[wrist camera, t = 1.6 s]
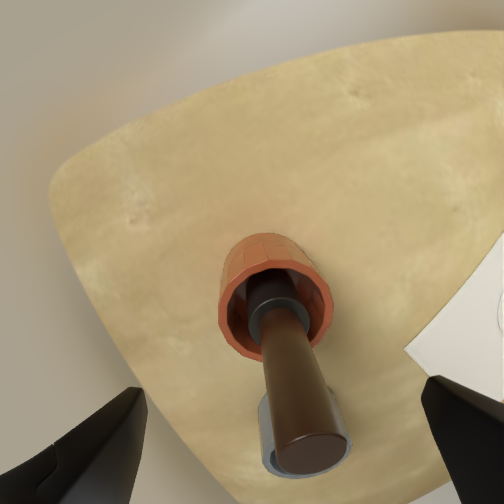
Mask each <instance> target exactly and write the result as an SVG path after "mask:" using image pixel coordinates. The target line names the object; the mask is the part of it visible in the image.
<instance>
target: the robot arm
mask: <svg viewBox="0 0 504 504" xmlns="http://www.w3.org/2000/svg"><path fill="white" fill-rule="evenodd" d="M421 402H422V405H423V408H424V411H425V414H426V417H427V420H428V423H429V426H430V429H431V432H432V435H433V437H434V440H435V442H436V444H437V446H438V449H439V451H440V453H441V455H442V458H443V460H444V462H445V465H446V467H447V469H448V472H449V474H450V476H451V479H452V481H453V484H454V486H455V489H456V491H457V494H458V496H459V499H460V501H461V504H504V404H503V403H501V402H499V401H496V400H494V399H492V398H490V397H488V396H485V395H483V394H481V393H479V392H476V391H474V390H472V389H470V388H468V387H465V386H463V385H461V384H459V383H457V382H454V381H452V380H450V379H448V378H446V377H444V376H441V375H435V376H431V377H429V378H428V379H427V382H426V384H425V387H424V390H423V392H422V395H421ZM147 414H148V409H147V404H146V399H145V394H144V390H143V389H142V388H139V387H128V388H127V389H126V390H124V391H123V392H122V393H120V394H119V395H118V396H116V397H115V398H114V399H112V400H111V401H110V402H108V403H107V404H106V405H104V406H103V407H102V408H100V409H99V410H98V411H96V412H95V413H94V414H92V415H91V416H90V417H88V418H87V419H86V420H85V421H83V422H82V423H80V424H79V425H78V426H76V427H75V428H74V429H72V430H71V431H70V432H68V433H67V434H65V435H64V436H63V437H61V438H60V439H59V440H57V441H56V442H54V445H53V444H51V445H50V446H49V447H47V448H46V449H44V450H43V451H42V452H40V453H39V454H37V455H36V456H34V457H33V458H31V459H29V460H28V461H26V462H24V463H23V464H21V465H19V466H17V467H15V468H14V469H12V470H10V471H8V472H6V473H4V474H2V475H0V504H129V501H130V498H131V494H132V490H133V486H134V482H135V478H136V475H137V471H138V467H139V463H140V460H141V455H142V449H143V442H144V434H145V428H146V421H147Z"/></svg>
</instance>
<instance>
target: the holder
mask: <svg viewBox="0 0 504 504" xmlns="http://www.w3.org/2000/svg"><path fill="white" fill-rule="evenodd" d="M269 268H278V269H281V270H283V271H285V272H286V273H287V274H288V275H289V276H290V277H291V278H292V280H293V282H294V284H295V287H296V289H297V291H298V293H299V295H300V297H301V299H302V301H303V304H304V306H305V308H306V310H307V312H308V315H309V320H310V325H309V329H308V332H307V334H306V335H307V338H308V340H309V343H310V345H311V348H313V347H315V346H316V345H317V344H318V343H319V342H320V341H321V340H322V338H323V336H324V335H325V333H326V331H327V330H328V328H329V326H330V324H331V319H332V313H333V306H334V305H333V300H332V297H331V293H330V290H329V287H328V285H327V283H326V282H325V280H324V279H323V277H322V276H321V275H320V273H319V272H318V271H317V269H316V268H315V267H314V265H313V264H312V263H311V262H310V261H309V260H308V258H307V257H306V256H305V254H304V253H303V251H302V250H301V249H300V248H299V246H298V245H297V244H296V243H294V242H293V241H292V240H290V239H289V238H287V237H285V236H282V235H279V234H275V233H260V234H255V235H252V236H249V237H247V238H245V239H243V240H242V241H240V242H239V243H238V244H237V245H236V246H235V247H234V248H233V249H232V250H231V251H230V253H229V254H228V256H227V258H226V261H225V263H224V268H223V275H222V280H221V286H220V295H219V303H218V324H219V327H220V329H221V331H222V333H223V335H224V337H225V339H226V341H227V342H228V344H229V345H231V346H232V347H233V348H234V349H235V350H236V351H238V352H239V353H240V354H241V355H243V356H245V357H247V358H250V359H253V360H256V361H259V362H263V360H262V352H261V347H260V346H259V345H258V344H256V343H255V342H254V340H253V339H252V337H251V335H250V333H249V327H248V315H247V302H246V286H247V283H248V281H249V279H250V278H251V276H252V275H253V274H256V273H258V272H261V271H264V270H266V269H269Z"/></svg>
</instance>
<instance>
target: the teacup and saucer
mask: <svg viewBox="0 0 504 504" xmlns="http://www.w3.org/2000/svg"><path fill="white" fill-rule="evenodd" d="M497 321H498V326H499V328H500V330H501V331H502V332H503V333H504V289H503V290H502V293H501V296H500V300H499V304H498V311H497Z"/></svg>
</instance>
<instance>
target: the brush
mask: <svg viewBox="0 0 504 504" xmlns="http://www.w3.org/2000/svg"><path fill="white" fill-rule="evenodd" d="M246 302H247V315H248V327H249V333H250V335H251V337H252V339H253V340H254V342H255V343H256V344H258V345H259V346H260V347H261V352H262V360H263V367H264V374H265V381H266V389H267V396H268V403H269V410H270V417H271V425H272V432H273V439H274V446H275V453H276V460H277V463H278V465H279V466H280V468H281V469H283V470H284V471H286V472H288V473H291V474H296V475H309V474H315V473H319V472H322V471H325V470H327V469H329V468H331V467H333V466H335V465H336V464H337V463H339V462H340V461H341V460H342V459H343V458H344V456H345V455H346V453H347V450H348V441H347V438H346V436H345V433H344V430H343V428H342V425H341V423H340V420H339V417H338V415H337V412H336V409H335V407H334V404H333V402H332V399H331V396H330V394H329V391H328V389H327V386H326V384H325V381H324V378H323V376H322V373H321V371H320V368H319V366H318V363H317V361H316V358H315V355H314V353H313V350H312V348H311V345H310V343H309V340H308V338H307V335H306V334H307V332H308V329H309V325H310V320H309V315H308V312H307V310H306V308H305V306H304V304H303V301H302V299H301V297H300V295H299V293H298V291H297V289H296V287H295V284H294V282H293V280H292V278H291V277H290V276H289V275H288V274H287V273H286V272H285V271H283V270H281V269H278V268H269V269H266V270H264V271H261V272H258V273H256V274H253V275H252V276H251V278H250V279H249V281H248V283H247V286H246Z"/></svg>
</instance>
